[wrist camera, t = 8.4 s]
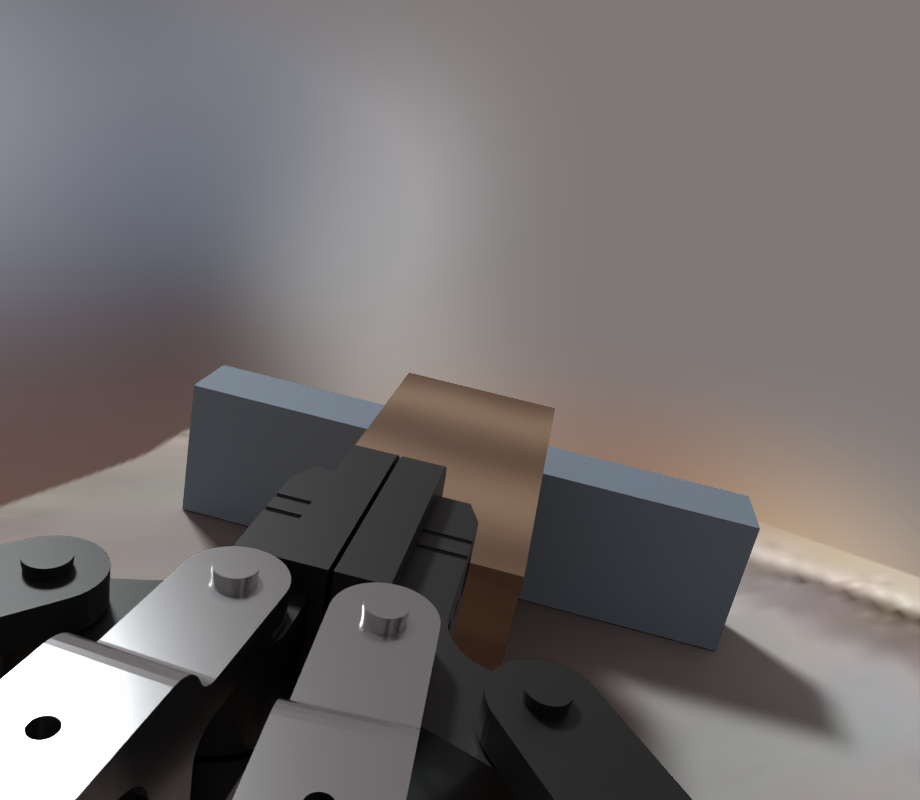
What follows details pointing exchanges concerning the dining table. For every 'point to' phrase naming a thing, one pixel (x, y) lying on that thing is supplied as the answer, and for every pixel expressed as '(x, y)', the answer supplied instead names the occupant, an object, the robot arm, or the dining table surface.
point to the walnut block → (476, 488)
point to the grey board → (556, 521)
